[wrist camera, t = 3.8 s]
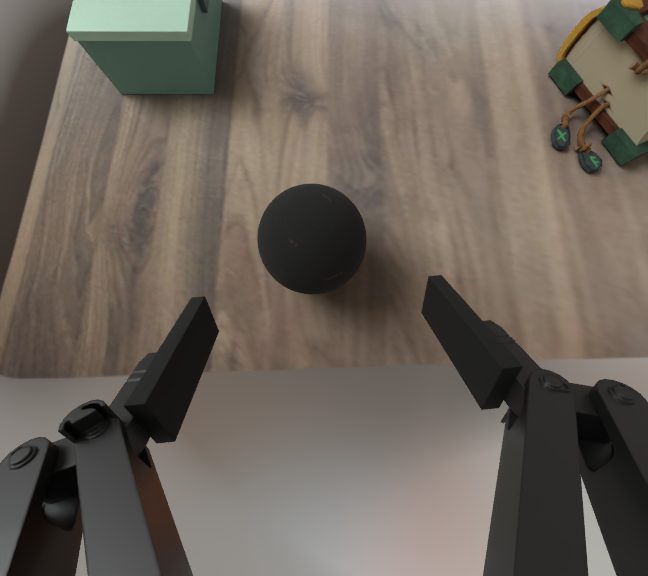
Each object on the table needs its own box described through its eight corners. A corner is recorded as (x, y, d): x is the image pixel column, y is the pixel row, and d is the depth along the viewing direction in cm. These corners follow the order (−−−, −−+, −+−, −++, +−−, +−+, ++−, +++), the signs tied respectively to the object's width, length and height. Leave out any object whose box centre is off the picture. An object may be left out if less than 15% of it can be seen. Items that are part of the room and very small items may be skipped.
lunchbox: (218, 95, 33) (191, 31, 26) (116, 95, 33) (61, 31, 26) (227, 0, 36) (204, -80, 29) (133, -1, 36) (88, -81, 29)
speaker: (297, 203, 30) (285, 137, 20) (372, 240, 29) (398, 191, 19) (253, 275, 28) (216, 241, 18) (332, 317, 27) (338, 306, 17)
